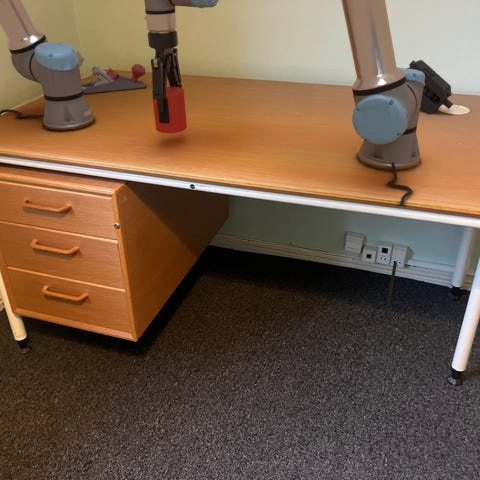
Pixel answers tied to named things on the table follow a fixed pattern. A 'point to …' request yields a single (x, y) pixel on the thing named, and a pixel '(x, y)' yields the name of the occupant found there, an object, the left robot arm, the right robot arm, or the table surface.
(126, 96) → the table surface
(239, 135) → the table surface
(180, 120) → the canister
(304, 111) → the table surface
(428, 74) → the tool
